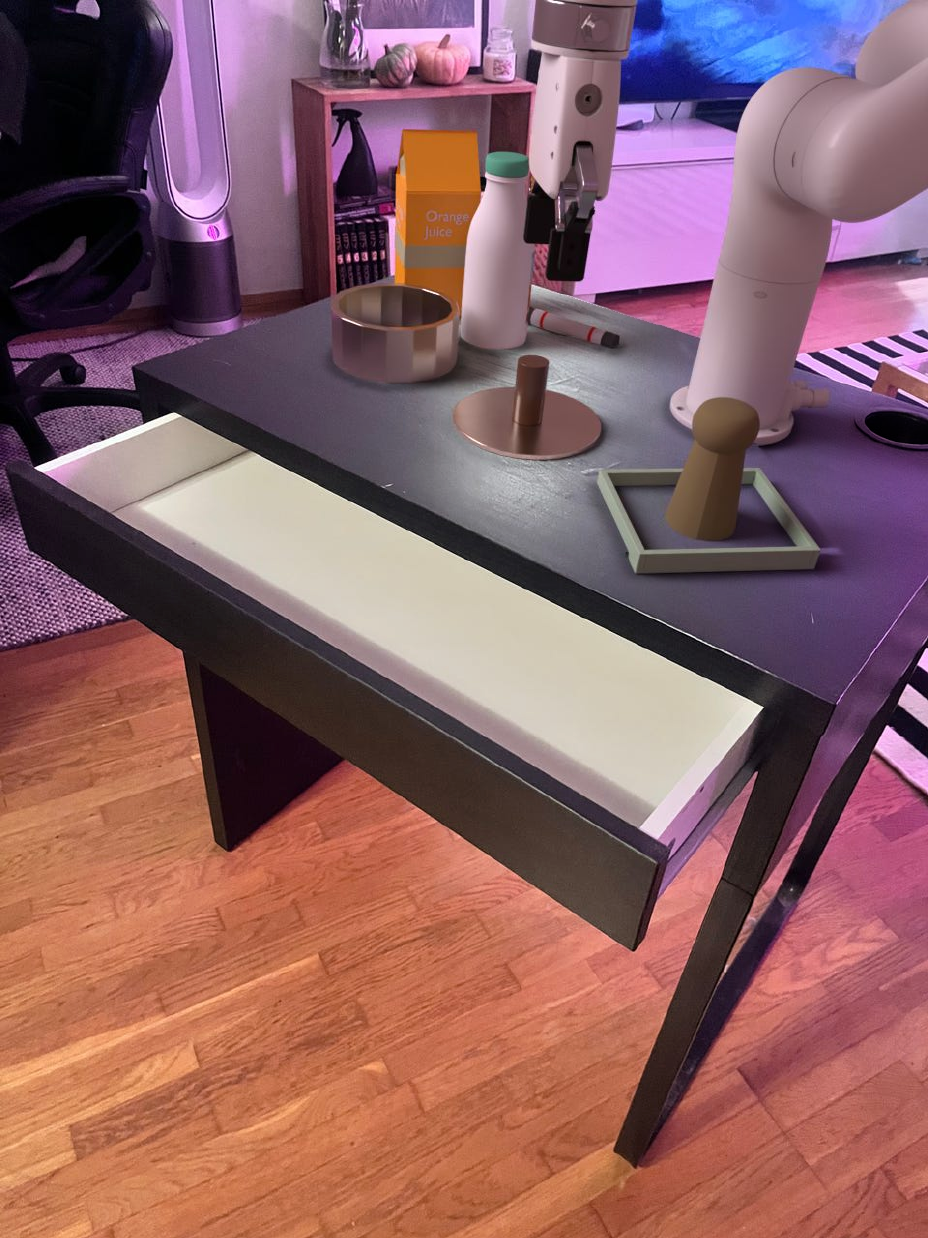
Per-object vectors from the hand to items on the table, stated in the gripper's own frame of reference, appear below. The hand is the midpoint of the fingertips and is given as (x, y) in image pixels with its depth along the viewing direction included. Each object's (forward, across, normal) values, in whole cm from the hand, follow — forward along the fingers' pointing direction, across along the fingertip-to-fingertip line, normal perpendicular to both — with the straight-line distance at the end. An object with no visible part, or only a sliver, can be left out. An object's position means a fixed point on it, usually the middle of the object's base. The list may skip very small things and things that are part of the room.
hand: (551, 260), depth 80 cm
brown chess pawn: (+16, -17, -12) cm, 26 cm away
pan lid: (+16, +1, 0) cm, 16 cm away
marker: (+17, +26, -9) cm, 32 cm away
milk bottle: (+17, +23, 0) cm, 29 cm away
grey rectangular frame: (+17, -17, -12) cm, 27 cm away
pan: (+17, +17, +12) cm, 27 cm away
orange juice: (+17, +34, +6) cm, 39 cm away
